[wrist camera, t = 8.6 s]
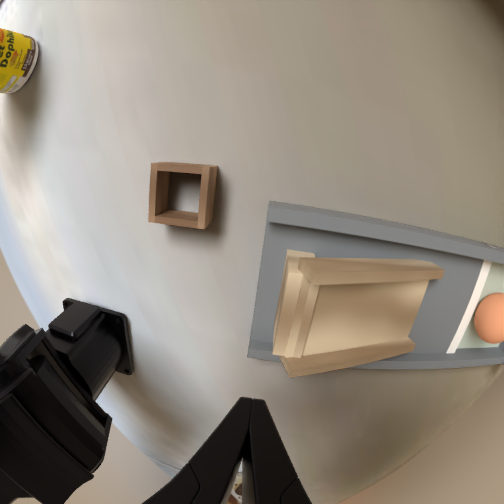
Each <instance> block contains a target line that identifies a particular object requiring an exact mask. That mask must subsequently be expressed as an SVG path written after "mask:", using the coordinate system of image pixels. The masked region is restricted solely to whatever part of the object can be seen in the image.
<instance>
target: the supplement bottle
mask: <svg viewBox="0 0 504 504" xmlns="http://www.w3.org/2000/svg"><path fill="white" fill-rule="evenodd" d="M37 57H38V44H37V42H36V40H35V39H34V38H32V37H30V36H27V35H23V34H20V33H16V32H13V31H9V30H5V29H1V28H0V93H13V92H15V91H17V90H19V89H20V88H21V87H22V86H23V85H24V84H25V83H26V81H27V80H28V78H29V77H30V75H31V73H32V71H33V69H34V67H35V64H36V61H37Z"/></svg>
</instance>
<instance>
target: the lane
mask: <svg viewBox="0 0 504 504" xmlns="http://www.w3.org/2000/svg"><path fill="white" fill-rule="evenodd" d="M266 221H267V222H266V229H265V237H264V244H263V251H262V259H261V266H260V273H259V280H258V287H257V294H256V301H255V308H254V315H253V322H252V329H251V336H250V342H249V348H248V354H247V358H254V359H261V360H268V361H276V362H282V361H281V360H280V358H279V355H273V337H274V321H275V316H276V310H277V305H278V299H279V294H280V288H281V283H282V277H283V271H284V265H285V260H286V254H287V249H288V250H295V251H302V252H308V253H314V254H315V258H374V259H416V260H422V261H428V262H432V263H434V264H436V265H437V266H439V267H441V268H443V269H444V270H445V271H444V274H443V277H442V279H431V280H429V283H428V286H427V288H426V291H425V294H424V297H423V300H422V302H421V305H420V308H419V310H418V313H417V316H416V318H415V321H414V323H413V326H412V328H411V330H410V333H409V335H408V337H409V338H410V339H411V340H412V341H413V342H414V343H415V344H416V346H415V348H414V350H413V351H412V352H408V353H405V354H401V355H398V356H394V357H390V358H386V359H382V360H378V361H374V362H370V363H366V364H361V365H357V366H352V367H348V368H358V369H398V370H405V369H444V368H461V367H474V366H484V365H494V364H502V363H503V365H504V341H503V342H500V343H497V344H490V343H487V342H485V341H483V340H482V339H481V338H480V337H479V336H478V334H477V332H476V329H475V324H474V318H475V313H476V309H477V307H478V305H479V304H480V302H481V301H482V300H483V299H484V298H485V297H486V296H488V295H490V294H492V293H497V292H499V293H504V248H501V247H498V246H494V245H490V244H486V243H483V242H479V241H475V240H471V239H467V238H463V237H459V236H455V235H451V234H446V233H442V232H438V231H433V230H429V229H424V228H420V227H415V226H411V225H406V224H401V223H396V222H391V221H386V220H381V219H376V218H371V217H366V216H360V215H355V214H349V213H344V212H338V211H332V210H326V209H320V208H314V207H308V206H301V205H295V204H288V203H281V202H274V201H269V206H268V212H267V220H266Z"/></svg>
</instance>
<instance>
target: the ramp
mask: <svg viewBox="0 0 504 504" xmlns="http://www.w3.org/2000/svg"><path fill="white" fill-rule="evenodd" d="M444 271H445V270H444V269H443V268H441V267H439V266H437V265H436V264H434V263H432V262H428V261H422V260H416V259H374V258H315V254H314V253H308V252H302V251H295V250H288V249H287V254H286V260H285V265H284V271H283V277H282V283H281V288H280V294H279V299H278V305H277V310H276V316H275V321H274V337H273V355H279V358H280V360H281V361H282V363H283V365H284V367H285V369H286V371H287V373H288V375H289V377H297V376H304V375H310V374H316V373H322V372H327V371H333V370H338V369H343V368H348V367H352V366H357V365H361V364H366V363H370V362H374V361H378V360H382V359H386V358H390V357H394V356H398V355H401V354H405V353H408V352H412V351H413V350H414V348H415V346H416V344H415V343H414V342H413V341H412V340H411V339H410V338H409V337H408V335H409V333H410V330H411V328H412V326H413V323H414V321H415V318H416V316H417V313H418V310H419V308H420V305H421V302H422V300H423V297H424V294H425V291H426V288H427V286H428V283H429V280H431V279H442V277H443V274H444Z"/></svg>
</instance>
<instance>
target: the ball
mask: <svg viewBox="0 0 504 504" xmlns="http://www.w3.org/2000/svg"><path fill="white" fill-rule="evenodd" d="M474 324H475V329H476V332H477V334H478V336H479V337H480V338H481V339H482V340H483V341H485V342H487V343H490V344H497V343H500V342H503V341H504V293H499V292H497V293H492V294H490V295H488V296H486V297H485V298H484V299H483V300H482V301H481V302H480V304H479V305H478V307H477V309H476V313H475V318H474Z"/></svg>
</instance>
